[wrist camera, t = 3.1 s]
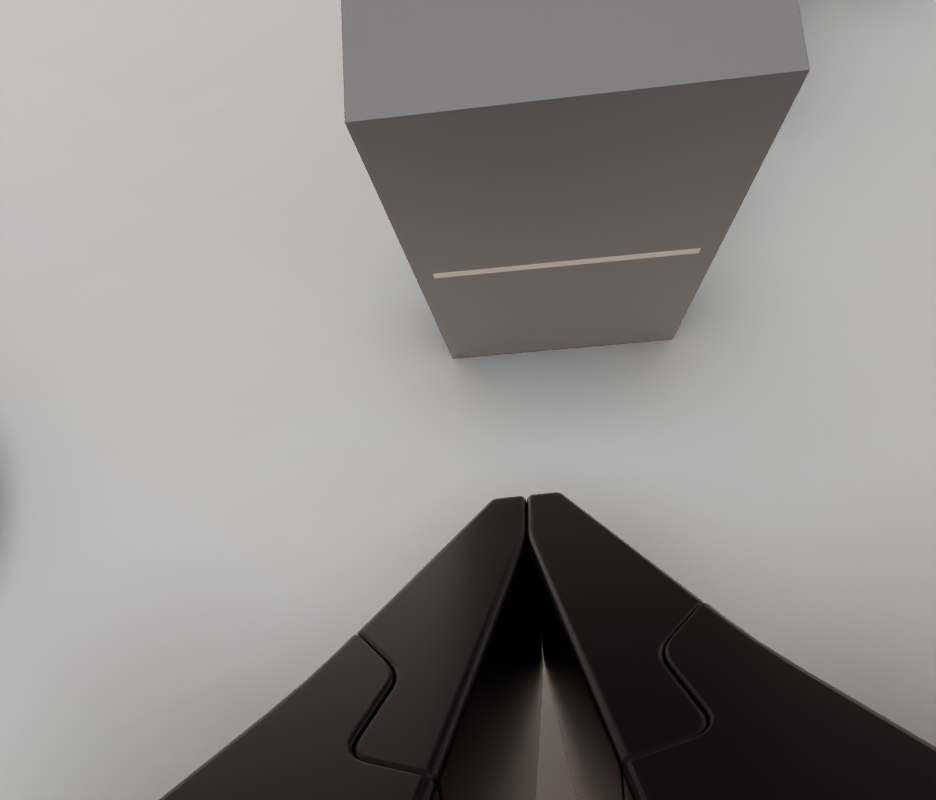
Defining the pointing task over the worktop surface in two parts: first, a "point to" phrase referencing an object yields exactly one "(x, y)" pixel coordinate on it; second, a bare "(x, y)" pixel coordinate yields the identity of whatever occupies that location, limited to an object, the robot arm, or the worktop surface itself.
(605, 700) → the robot arm
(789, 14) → the domino
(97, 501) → the worktop surface
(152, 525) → the worktop surface
